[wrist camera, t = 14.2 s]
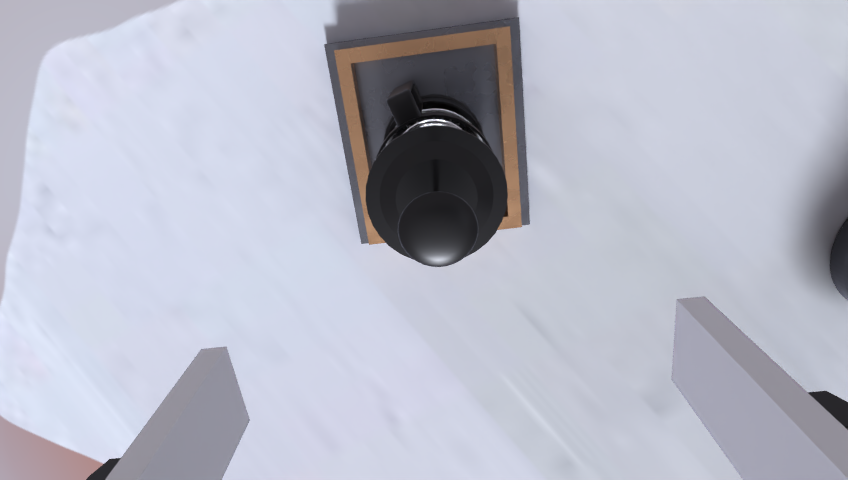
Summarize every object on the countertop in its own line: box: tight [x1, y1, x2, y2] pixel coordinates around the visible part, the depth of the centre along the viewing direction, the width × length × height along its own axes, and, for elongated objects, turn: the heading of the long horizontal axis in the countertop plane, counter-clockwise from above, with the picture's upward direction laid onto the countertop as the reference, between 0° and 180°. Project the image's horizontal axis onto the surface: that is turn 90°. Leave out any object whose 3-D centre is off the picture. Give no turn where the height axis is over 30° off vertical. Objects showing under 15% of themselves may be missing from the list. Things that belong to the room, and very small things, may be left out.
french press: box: [365, 80, 508, 267], centre depth 36 cm, size 12×9×23 cm
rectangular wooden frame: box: [324, 18, 530, 245], centre depth 47 cm, size 17×19×3 cm
